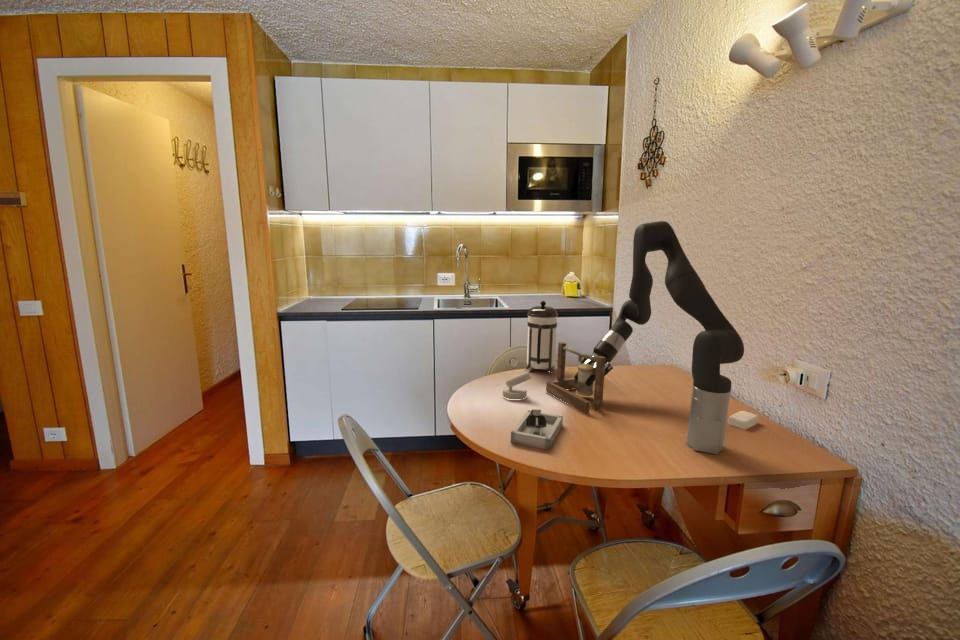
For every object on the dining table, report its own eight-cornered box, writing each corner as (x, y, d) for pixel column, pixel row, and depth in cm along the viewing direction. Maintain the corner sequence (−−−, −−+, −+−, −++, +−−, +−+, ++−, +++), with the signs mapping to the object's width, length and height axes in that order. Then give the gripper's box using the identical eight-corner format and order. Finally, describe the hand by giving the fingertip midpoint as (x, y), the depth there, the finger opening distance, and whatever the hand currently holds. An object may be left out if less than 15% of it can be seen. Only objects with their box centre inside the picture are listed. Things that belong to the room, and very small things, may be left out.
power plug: (543, 416, 137) (546, 408, 126) (543, 441, 134) (547, 434, 123) (525, 416, 137) (527, 407, 126) (525, 440, 134) (526, 433, 123)
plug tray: (548, 449, 119) (549, 439, 119) (510, 441, 124) (511, 432, 123) (562, 425, 135) (562, 416, 134) (527, 419, 139) (528, 410, 138)
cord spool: (591, 397, 153) (593, 369, 151) (574, 394, 155) (576, 367, 153) (594, 391, 159) (595, 365, 157) (577, 389, 161) (579, 363, 159)
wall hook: (533, 374, 153) (504, 374, 152) (532, 400, 154) (503, 400, 154) (529, 367, 161) (502, 367, 161) (528, 392, 163) (501, 392, 162)
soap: (740, 418, 143) (741, 409, 142) (758, 424, 139) (759, 415, 138) (726, 424, 138) (727, 415, 137) (745, 431, 134) (746, 422, 133)
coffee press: (514, 366, 193) (516, 299, 187) (544, 362, 200) (547, 297, 194) (537, 378, 178) (540, 305, 172) (568, 373, 185) (572, 303, 179)
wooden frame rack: (576, 386, 169) (579, 340, 166) (619, 406, 150) (623, 354, 146) (545, 392, 163) (547, 344, 159) (585, 414, 143) (589, 360, 140)
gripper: (629, 357, 154) (600, 394, 151) (600, 347, 166) (573, 381, 163) (619, 344, 150) (589, 382, 147) (590, 335, 163) (563, 370, 160)
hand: (581, 381), depth 155 cm, fingers closed on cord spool, 5 cm apart
